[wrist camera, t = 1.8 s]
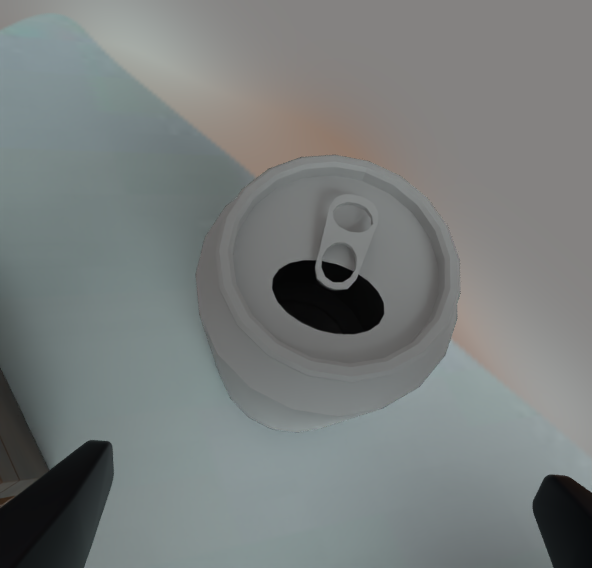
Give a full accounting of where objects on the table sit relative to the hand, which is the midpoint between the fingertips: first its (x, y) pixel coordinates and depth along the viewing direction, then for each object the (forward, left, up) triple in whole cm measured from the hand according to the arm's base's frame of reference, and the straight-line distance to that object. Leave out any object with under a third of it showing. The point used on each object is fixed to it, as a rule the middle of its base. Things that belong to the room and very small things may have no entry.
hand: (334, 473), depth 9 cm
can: (+5, -1, -12) cm, 13 cm away
